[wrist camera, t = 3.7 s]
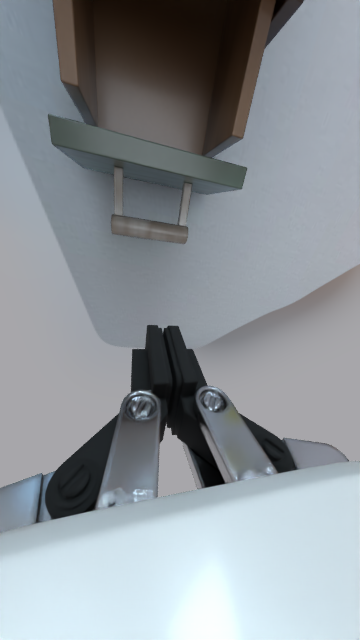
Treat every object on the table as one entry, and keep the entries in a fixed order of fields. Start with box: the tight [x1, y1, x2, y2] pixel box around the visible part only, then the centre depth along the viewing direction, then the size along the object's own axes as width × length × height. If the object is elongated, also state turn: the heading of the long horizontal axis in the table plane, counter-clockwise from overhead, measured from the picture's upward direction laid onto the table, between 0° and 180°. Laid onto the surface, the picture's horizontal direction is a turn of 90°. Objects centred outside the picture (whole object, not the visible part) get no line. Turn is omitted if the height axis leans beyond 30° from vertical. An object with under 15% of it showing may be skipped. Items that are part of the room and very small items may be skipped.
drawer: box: [48, 0, 276, 244], centre depth 12 cm, size 18×11×7 cm, turn 171°
